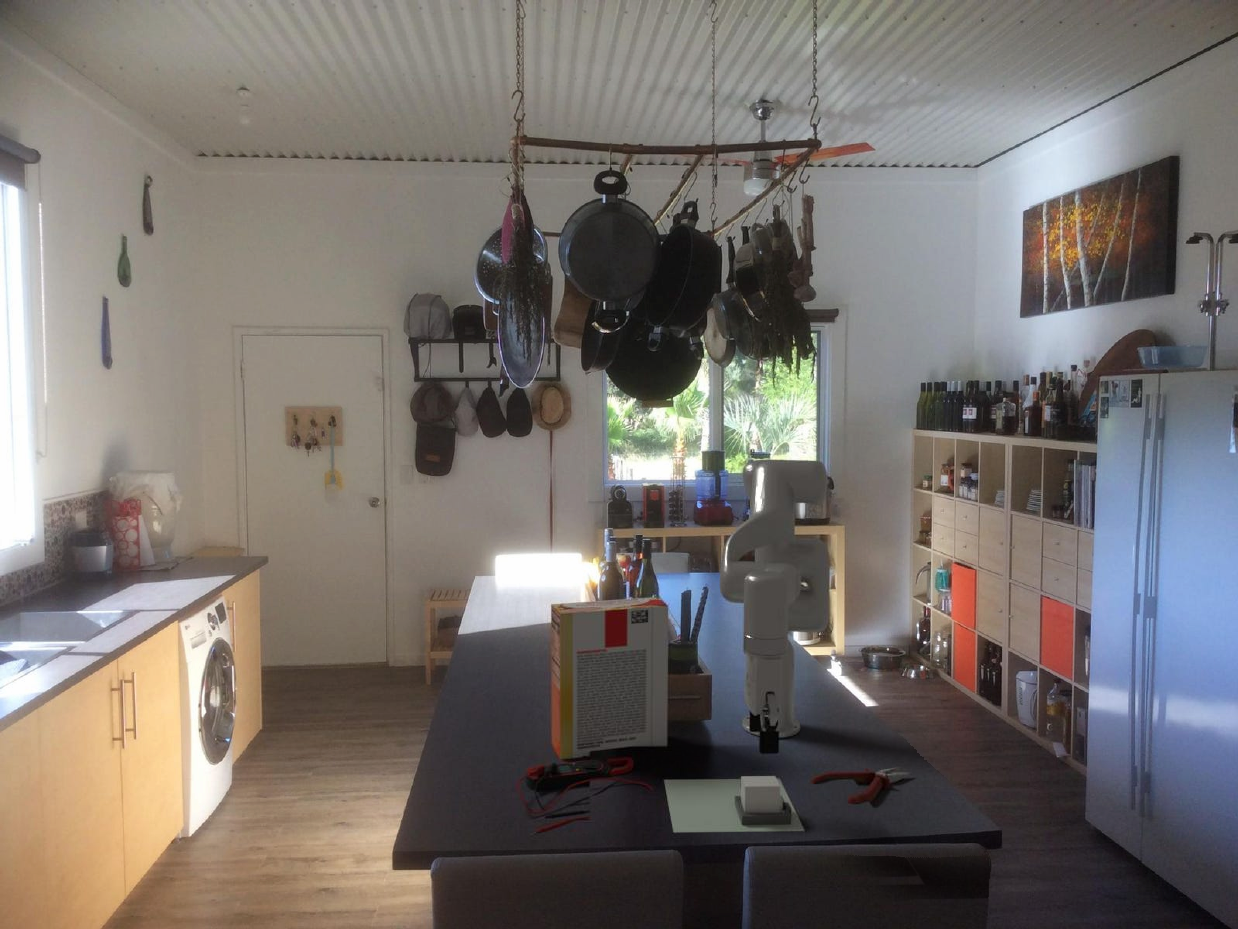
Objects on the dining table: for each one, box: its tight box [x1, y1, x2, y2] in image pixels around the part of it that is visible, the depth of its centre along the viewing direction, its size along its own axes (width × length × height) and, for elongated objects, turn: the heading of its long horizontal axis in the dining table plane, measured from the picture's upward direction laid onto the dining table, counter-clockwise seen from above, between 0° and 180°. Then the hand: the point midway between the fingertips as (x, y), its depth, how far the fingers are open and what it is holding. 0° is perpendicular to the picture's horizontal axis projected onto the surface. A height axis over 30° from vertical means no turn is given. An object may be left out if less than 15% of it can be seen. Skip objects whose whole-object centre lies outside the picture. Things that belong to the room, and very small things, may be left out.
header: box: [735, 796, 791, 825], centre depth 154 cm, size 8×9×2 cm
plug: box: [740, 775, 783, 813], centre depth 154 cm, size 4×7×6 cm, turn 92°
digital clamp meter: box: [517, 756, 654, 836], centre depth 164 cm, size 23×4×25 cm
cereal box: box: [550, 596, 669, 761], centre depth 185 cm, size 23×8×30 cm, turn 107°
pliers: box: [810, 766, 913, 805], centre depth 168 cm, size 11×20×3 cm, turn 120°
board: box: [663, 778, 805, 834], centre depth 158 cm, size 20×22×2 cm
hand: (763, 741), depth 154 cm, fingers open, 8 cm apart
